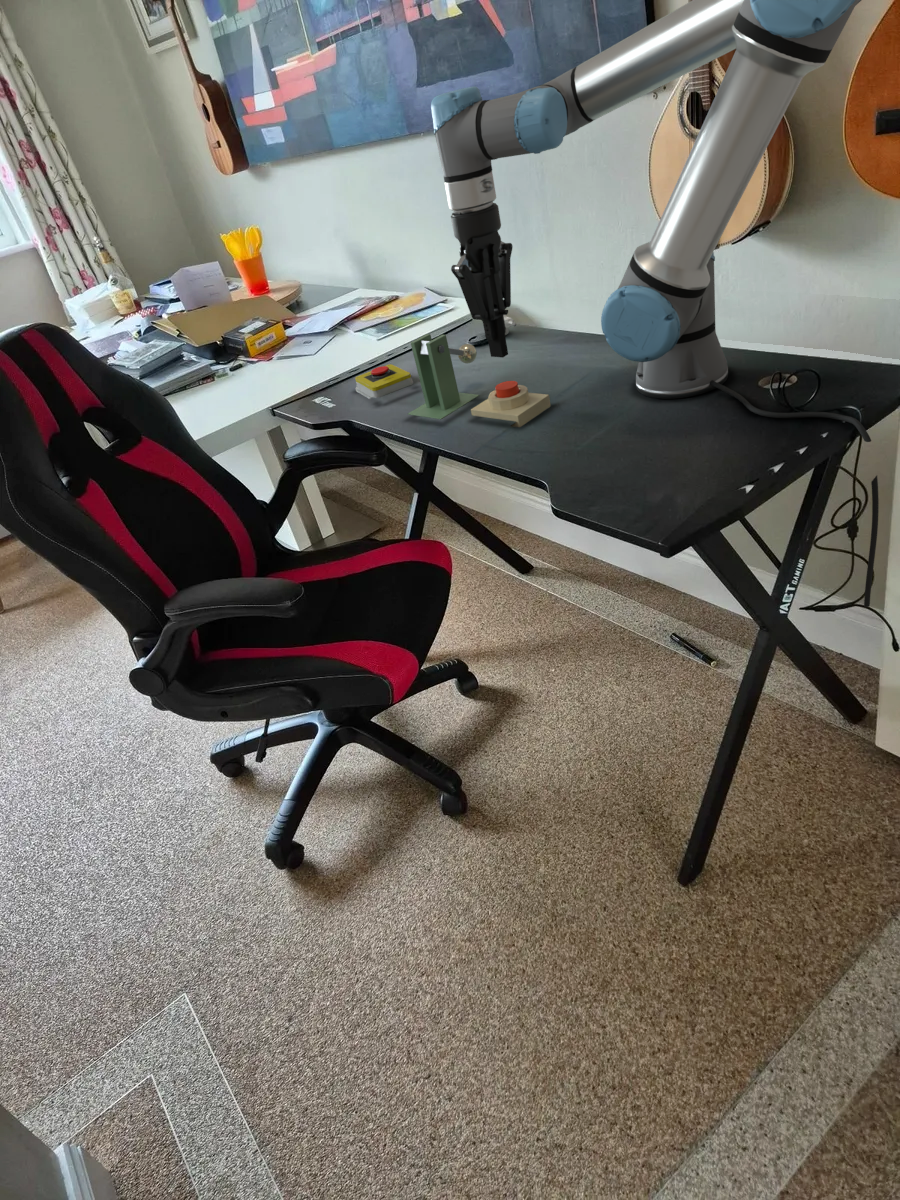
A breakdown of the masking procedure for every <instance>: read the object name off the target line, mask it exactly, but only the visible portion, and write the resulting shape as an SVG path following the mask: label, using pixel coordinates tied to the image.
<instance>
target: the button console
mask: <svg viewBox="0 0 900 1200" xmlns="http://www.w3.org/2000/svg"><path fill="white" fill-rule="evenodd" d="M518 388H519V393H518V394H517V395H514V396H511V397H507V398H497V394H496V389H494V390H493V391H491V392H489V394H488V396H487V397H488V398H487V399H485V400H483V401H482V402H480V403H479V404H477V405H476V406H474V407H472V408H471V409H470V414H471V416H474V417H480V418H487V419H488V418H489V419H494V420H503V421H508V422H514V423H512V424H511V425H510V427H513V428H521V427H523V426H524V425H525V424H527V423H528V422H530V421H532V420H533V419H535V418H536V417H537V416H539V415H540V414H542V413H544V411H546V410H547V409H549V408H550V407H551V406H552V405H551V398H550V394H547V393H546V394H544V393H536V392H529V389H528V387H527V386H525V385H523V384H518Z"/></svg>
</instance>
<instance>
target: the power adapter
mask: <svg viewBox="0 0 900 1200" xmlns="http://www.w3.org/2000/svg"><path fill="white" fill-rule="evenodd" d="M503 316H504V322H505V328H506V333H505V336H506V335H508V334H509V331H510V329H509V328H510V327H517V323H516V322H515V319H513V318H512V317H510V316H508V315H503Z"/></svg>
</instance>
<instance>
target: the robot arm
mask: <svg viewBox="0 0 900 1200" xmlns="http://www.w3.org/2000/svg"><path fill="white" fill-rule="evenodd" d="M861 2H862V0H690V1H688V2H686V3H685V4H683V5H682V6H680V7H678V8H676V9H675V10H673V11H671V12H669V13H668V14H666V15H664V16H662V17H660V18H658V19H657V20H655V21H654V22H652V23H650V24H648V25H646V26H645V27H643V28H641V29H639V30H638V31H636V32H634V33H632V34H631V35H629V36H628V37H626V38H623V39H622V40H621V41H618V42H616V43H615V44H613V45H612V46H610V47H608V48H606V49H605V50H603V51H601V52H599V53H598V54H596V55H594V56H592V57H591V58H588V59H587V60H585V61H583V62H582V63H580V64H578V65H577V66H575V67H572V68H571V69H568V70H567V71H566V72H563V73H562V74H560V75H558V76H556V77H555V78H553V79H551V80H550V81H547V82H545V83H543V84H540V85H536V86H534V87H531V88H528V89H526V90H523V91H520V92H517V93H513V94H509V95H505V96H501V97H497V98H494V99H484V100H483V97H482V94H481V91H480V89H479V87H477V86H469V87H465V88H459V89H455V90H452V91H448V92H444V93H441V94H438V95H436V96H434V97H433V98H432V100H431V103H430V111H431V118H432V125H433V135H434V137H435V142H436V145H437V150H438V155H439V161H440V164H441V170H442V175H443V181H444V188H445V189H444V190H445V194H446V199H447V205H448V209H449V210H451V211H453V212H451V215H450V220H451V224H452V225H451V226H452V230H453V236H454V238H455V239H456V240H457V241H458V242H459V257H460V258H459V260H458V261H457V264H452V265H451V268H450V271H451V273H452V274H453V275H454V277H455V278H456V279H457V281H458V284H459V287H460V289H461V292H462V294H463V297H464V299H465V302H466V305H467V308H468V311H469V313H470V316H471V319H472V320H475V321H481V322H482V324H483V325H482V326H483V331H484V336H485V339H486V340H487V342H488V349H489V354H490V357H491V358H502V359H503V358H504V357H506V356H508V355H509V350H508V344H507V339H506V335H505V333H506V328H505V322H504V316H503V315H506V316H508V314H509V309H507V308H511V305H512V294H511V293H512V288H511V287H512V286H511V284H512V283H511V282H512V280H511V278H512V277H511V274H512V273H511V257H512V253H513V244H512V242H504V241H503V240H502V238H501V235H500V234H499V231H500V229H501V228H502V221H501V214H500V209H499V205H498V204H497V203H496V202H495V200H496V199H497V193H496V187H495V180H494V175H493V166H492V161H494V160H498V159H502V158H503V159H504V158H509V157H517V156H521V155H523V156H524V155H529V154H534V155H536V154H537V155H538V154H541V153H542V152H546V151H550V150H554V149H557V148H558V147H560V146H561V145H562V143H563V142H564V138H565V136H568V135H570V134H572V133H575V132H577V131H579V129H581V128H582V127H585V126H586V125H589V124H591V123H593V122H594V121H596V120H598V119H600V118H602V117H604V116H606V115H607V114H610V113H612V112H614V111H615V110H617V109H620V108H621V107H623V106H626V105H627V104H629V103H632V102H633V101H635V100H637V99H639V98H641V97H643V96H645V95H647V94H649V93H651V92H652V91H655V90H657V89H659V88H661V87H663V86H665V85H667V84H669V83H671V82H673V81H675V80H677V79H679V78H681V77H682V76H685V75H686V74H689V73H691V72H692V71H695V70H696V69H699V68H700V67H703V66H705V65H706V64H708V63H710V62H712V61H714V60H716V59H718V58H720V57H723V56H724V55H726V54H728V53H730V52H732V51H734V50H735V52H734V54H733V56H732V58H731V61H730V62H729V65H728V67H727V70H726V71H725V74H724V76H723V79H722V81H721V83H720V85H719V87H718V89H717V92H716V94H715V97H713V98H714V99H713V100H712V103H711V105H710V107H709V109H708V112H707V115H706V116H705V118H704V120H703V123H702V125H701V127H700V129H699V132H698V134H697V136H696V139H695V141H694V142H693V145H692V148H691V150H690V152H689V153H688V157H687V159H686V161H685V162H684V165H683V167H682V170H681V171H680V174H679V176H678V179H677V181H676V183H675V185H674V188H673V190H672V192H671V194H670V197H669V199H668V201H667V203H666V206H665V207H664V210H663V212H662V215H661V217H660V219H659V221H658V223H657V226H656V228H655V229H654V232H653V235H652V237H651V239H650V241H648V242H646V243H643V244H641V245H639V246H637V247H636V248H635V250H634V251H633V253H632V256H631V258H630V261H629V263H628V264H627V267H626V270H625V272H624V274H623V276H622V279H621V281H620V284H619V285H618V287H617V289H615V290H614V291H613V292H612V293H611V294H610V296H609V297H607V299H606V302H605V304H604V305H603V308H602V310H601V316H600V326H601V330H602V331H601V332H602V334H603V335H604V338H605V339H606V342H607V344H608V345H609V346H610V348H611V349H612V350H613V351H614V352H615V353H616V354H618V355H619V356H620V357H622V358H624V359H626V360H629V361H632V362H636V363H637V362H638V364H637V369H636V374H635V388H636V390H637V391H638V392H639V393H640V394H641V395H643V396H646V397H648V398H649V397H650V398H656V399H664V400H665V399H669V400H670V399H684V398H690V397H695V396H699V395H702V394H705V393H709V392H710V391H711V392H712V391H713V390H715V389H717V390H720V391H722V392H723V393H725V394H727V395H729V396H731V397H733V398H735V399H736V400H738V401H739V402H740V403H742V405H743V406H744V407H745V408H746V409H748V410H749V411H750V412H752V413H754V414H755V415H758V416H762V417H767V418H772V419H803V418H804V419H805V418H808V419H809V418H821V419H823V418H824V419H831V420H836V421H840V422H846V423H849V424H851V425H853V426H854V427H855V428H856V429H857V431H858V432H859V434H860V436H861V437H862V439H863V441H864V442H866V443H871V442H872V439H871V437H870V435H869V433H868V431H867V430H866V428H865V427H864V425H863V424H862V423H861V422H860V420H858V419H857V418H855V417H853V416H849V415H844V414H840V413H835V412H829V411H828V412H827V411H802V412H774V411H767V410H763V409H760V408H757V407H756V406H754V405H752V403H750V401H748V400H747V398H745V397H744V396H743V395H741V393H738V392H737V391H735V390H733V389H731V388H729V387H727V386H725V385H723V384H724V383H726V381H727V380H728V377H729V366H728V361H727V359H726V357H725V353H724V350H723V348H722V345H721V343H720V340H719V337H718V335H717V332H716V292H715V291H716V290H715V287H716V285H715V261H716V256H715V254H714V253H715V252H714V251H715V249H716V248H717V245H718V244H719V242H720V240H721V238H722V236H723V234H724V232H725V230H726V228H727V226H728V224H729V222H730V220H731V218H732V216H733V214H734V212H735V211H736V208H737V206H738V205H739V202H740V201H741V199H742V197H743V195H744V193H745V191H746V190H747V187H748V185H749V183H750V182H751V180H752V178H753V176H754V173H755V172H756V169H757V167H758V166H759V164H760V162H761V159H762V158H763V156H764V154H765V152H766V151H767V148H768V147H769V144H770V142H771V140H772V138H773V137H774V134H775V133H776V131H777V129H778V127H779V125H780V123H781V121H782V119H783V117H784V115H785V113H786V112H787V109H788V107H789V105H790V103H791V102H792V99H793V98H794V95H796V92H797V90H798V88H799V86H800V84H801V82H802V81H803V78H804V77H806V75H807V74H809V73H811V72H813V71H815V70H818V69H819V68H821V67H823V66H824V65H825V64H826V62H827V60H828V58H829V56H830V54H831V53H832V51H833V49H834V47H835V45H836V43H837V41H838V40H839V37H840V36H841V34H842V31H843V30H844V28H845V26H846V24H847V23H848V21H849V19H850V17H851V15H852V13H853V11H854V9H855V8H856V6H857V5H858V4H859V3H861ZM878 481H879V480H878V475H876V476H875V477H874V478H873V479H872V480H871V482H870V483H871V484H870V485H871V530H870V541H869V542H870V543H869V552H868V561H867V568H866V577H865V588H864V598H863V606H864V607H866V608H869V607H871V594H872V581H873V574H874V567H875V558H876V549H877V541H878V530H879V529H878V528H879V509H880V508H879V504H880V503H879V500H880V499H879V482H878Z"/></svg>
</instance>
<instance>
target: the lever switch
mask: <svg viewBox="0 0 900 1200" xmlns="http://www.w3.org/2000/svg"><path fill="white" fill-rule="evenodd" d="M428 342H430V341H421V353H420V354H422V355H428V350H427V346H426V343H428ZM449 351H450V355H454V356H457V357H458V359H459V361H460V362H461V363H463V364H471V363H473V362H475V360H476V359H477V354H478V353H477V348H476V347H475V346H474V345H473V344H471V343H464V344H462V345H460V347H459V348H458V349H457V348H450V347H449Z"/></svg>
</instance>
